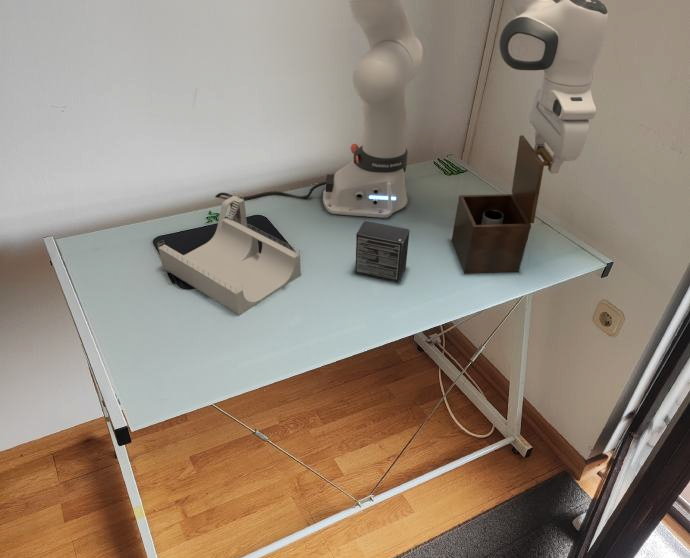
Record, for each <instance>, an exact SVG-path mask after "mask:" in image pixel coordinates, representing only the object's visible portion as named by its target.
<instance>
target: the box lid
mask: <svg viewBox="0 0 690 558" xmlns="http://www.w3.org/2000/svg"><path fill="white" fill-rule="evenodd" d="M553 159H554V157H553V155H552V153H551V152H550V150H549V149H547V147H543V148H541V149H540V150H539V151H534V147H533V146H532V145H531V144H530V142H529V141H528V139H527V138H526V137H525V135H524V134H523V135H521V134H520V135H519V137H518V144H517V152H516V160H515V167H514V174H513V179H512V187H511V194H513V195H514V197H515V199H516V200H517V202H518V204H519V206H520V207H521V209H522V211H523V212H524V214H525V216H526V217H527V219H528V221H529V222H530V224H531V225H532V224H535V218H536V212H537V207H538V201H539V196H540V190H541V185H542V179H543V173H544V168H545V167H547V168H548V167H549V163H550V162H552V161H553Z"/></svg>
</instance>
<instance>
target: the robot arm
mask: <svg viewBox="0 0 690 558" xmlns="http://www.w3.org/2000/svg"><path fill="white" fill-rule="evenodd" d="M506 1H507V3H508V4H509V5H510V7H511V8H512V10H513V11H514V13H515V14H516V16H515V17H514V18H512V20H510V21H509V22H508V23H507V24H506V25H505V26H504V28H503V29H502V31H501V34H500V37H499V41H498V42H499V46H498V47H499V48H498V49H499V53H500V56H501V58H502V60H503V61H504V63H505V64H506V65H507V66H508V67H510V68H511V69H513V70H516V71H544V74H543V77H542V83H541V86H540V88H539V89H538V90H536V93H535V95H534V97H533V101H532V104H531V107H530V111H529V116H528V118H529V119H528V120H529V123H530V124H531V126H532V127H533V128H534V130H535V131H534V142H535V143H534V147H533V149H534V151H539V150H540V149H541V148H543V147H545V148H547V147H546V145H547V146H548V147H549V149H550V150H551V151H552V153H553V155H552V156H553V157H554V159H553V161H552V162H550V163H549V167H548V166H547V170H548V172H549V173H550V174H558V173H559V172H560V170H561V166H562V164H564V163H565V162H571V161H573V162H575V161H576V160H578V159H579V157H580V156H581V154H582V152H583V149H584V146H585V143H586V141H587V137H588V135H589V130H590V120H593V119H594V118H595V115H596V113H597V108H596V104H595V102H594V99H593V94H592V89H591V86H592V83H593V79H594V69H595V66H596V64H597V62H598V60H599V58H600V56H601V52H602V49H603V46H604V41H605V38H606V37H605V36H606V33H607V27H608V21H609V12H608V8H607V7H606V5H605V4H604V3H603V2H602V1H601V0H506ZM348 3H349V7H350V11H351V12H350V13H351V16H352V18H353V20H354V22H355V23H357V24H358V25H359V27H360V28H361V31H362V33H363V35H364V37H365V39H366V41H367V45H368V47H369V50H368V51H366V52H365V53H364V54H363V55H362V56H361V57H360V59H359V61H358V63H357V65H356V66H355V69H354V71H353V73H352V84H353V89H354V91H355V93H356V94H357V96H358V97H359V102H360V106H361V112H362V137H361V141H362V142H361V145H360V147H359V145H358V144H357V143H352V144H351V146H350V151H351V153H352V154H353V160H352V161H351V162H349V163H347V164H346V165H345V166H343V167H342V168H340V169H338V170H336V172H335V173H334V174H326V179H325V181H322V182H320V183H317V184H315V185H314V186H312V187H311V188H310V189H309V191H308V194H306V195H303V196H298V195H294V194H290V193H287V192H283V191H276V190H275V191H274V190H273V191H265V192H260V193H257V194H252V195H246V196H244V198H243V196H238V197H239V198H241V199H243V200H244V201H245V200H251V199H255V198H259V197H263V196H267V195H268V196H269V195H279V196H280V195H281V196H285V197H290V198H294V199H301V200H306V199H308V198H309V197H311V195H312V193H313V192H314V190H315V189H317V188H319V187H322V186H324V185H325V189H324V190H323V193H322V203H323V206H324V209H325V210H326V211H327V212H329V213H330V214H332V215H342V216H355V217H368V218H382V219H387V218H389V217H391V216H392V215H393V214H394V213H396V212H398V211H400V210H402V209H403V208H405V207H406V206H407V205H408V201H409V200H408V195H407V190H406V171H407V166H408V158H409V156H408V155H409V153H408V147H407V145H408V133H409V122H410V117H409V115H408V114H407V108H406V100H405V99H406V97H405V96H406V91H407V87H408V85H409V83H410V82H411V81H412V80H413V79H414V78H415V77H416V75H417V74H418V73H419V71H420V68H421V65H422V62H423V58H424V51H423V45H422V43H421V41H420V40H419V39H418V37H417V36H416V35H415V33H414V30H413V27H412V24H411V21H410V20H409V16H408V14H407V11H406V8H405V5H404V1H403V0H348ZM229 195H230V196H229ZM220 196H224V197H225V196H226V197H228V198H229V197H232V196H234V194H232V195H231V193H228V192H219V193H217V194H216V195H215V196H214V197H215V198H219V197H220Z"/></svg>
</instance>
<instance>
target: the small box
mask: <svg viewBox="0 0 690 558" xmlns="http://www.w3.org/2000/svg"><path fill="white" fill-rule="evenodd" d="M410 232H411V229H410V228H406V227H401V226H400V227H399V226H395V225H389V224H385V223H380V222H379V223H378V222H374V221H369V220H364V221H363V222H362V224H361V226H360V227H359V228H358V230H357V232H356V233H355V237H356V238H355V241H356V243H355V267H354V274H355V275H360V276H366V277H370V278H374V279H379V280H383V281H388V282H393V283H397V284H398V283H400V282H401V279H402V278H403V275H404V274H405V272H406V269H407V261H408V249H409V240H410Z"/></svg>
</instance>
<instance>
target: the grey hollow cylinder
mask: <svg viewBox="0 0 690 558" xmlns="http://www.w3.org/2000/svg"><path fill="white" fill-rule="evenodd" d="M503 218H504V214H503V213H502V212H500V211H498V210H494V209H489V210H486V211H484V213H483V217H482V222H481V225H493V224H502V222H503Z"/></svg>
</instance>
